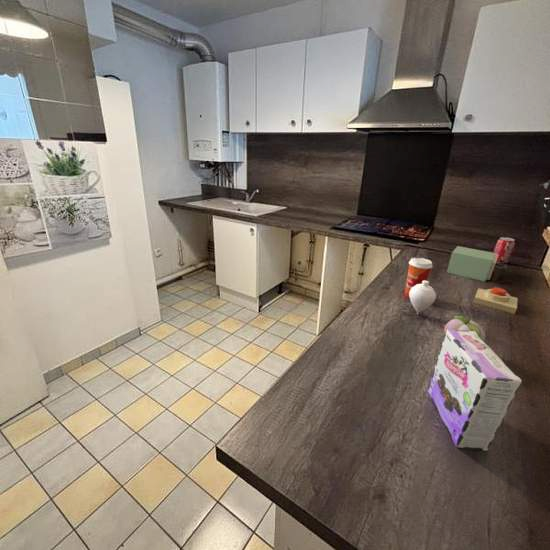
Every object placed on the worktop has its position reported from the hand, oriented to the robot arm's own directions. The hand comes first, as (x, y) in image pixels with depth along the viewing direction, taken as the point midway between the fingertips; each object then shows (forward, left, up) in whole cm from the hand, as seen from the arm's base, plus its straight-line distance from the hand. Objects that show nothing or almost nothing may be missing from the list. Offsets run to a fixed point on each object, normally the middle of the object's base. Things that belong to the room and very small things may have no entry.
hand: (544, 228), depth 118 cm
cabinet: (+20, +10, -22) cm, 32 cm away
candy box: (+10, +103, -23) cm, 106 cm away
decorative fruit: (+13, +77, -23) cm, 81 cm away
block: (+8, +37, -22) cm, 44 cm away
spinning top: (+27, +65, -23) cm, 74 cm away
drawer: (+16, +10, -22) cm, 29 cm away
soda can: (+10, -19, -23) cm, 31 cm away
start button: (+8, +37, -19) cm, 42 cm away
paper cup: (+32, +52, -23) cm, 65 cm away
